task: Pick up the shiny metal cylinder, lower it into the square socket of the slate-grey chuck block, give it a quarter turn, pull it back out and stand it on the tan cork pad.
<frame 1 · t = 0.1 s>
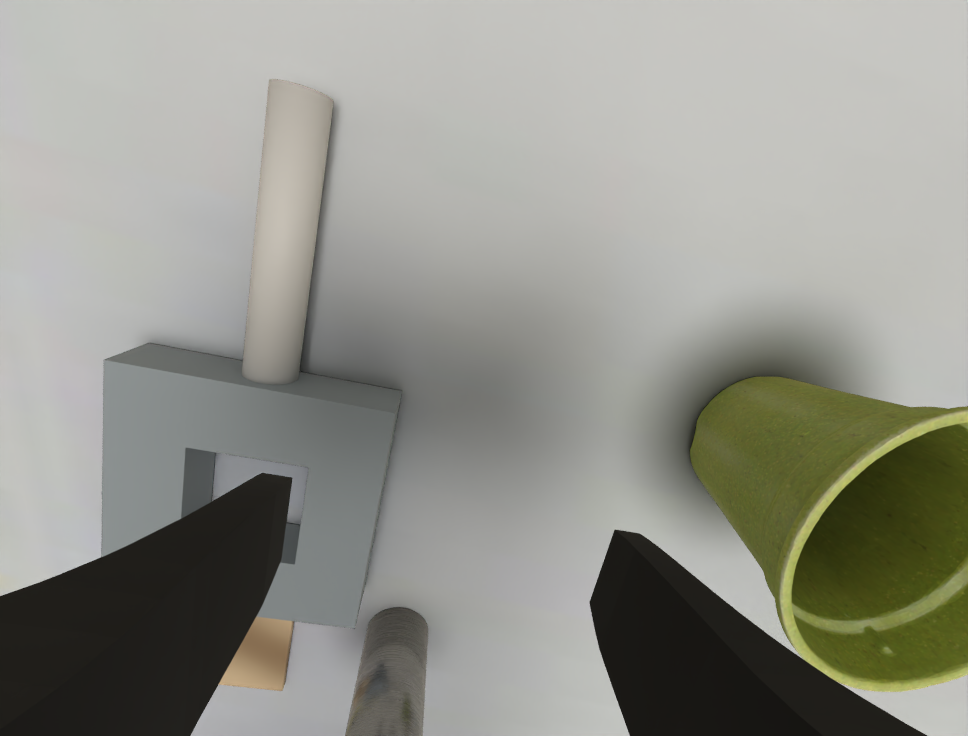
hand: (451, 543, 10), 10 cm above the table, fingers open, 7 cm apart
chuck block: (267, 476, 20), on the table
plant pot: (750, 434, 22), on the table
pad: (227, 628, 22), on the table
shiny metal cylinder: (397, 632, 23), on the table
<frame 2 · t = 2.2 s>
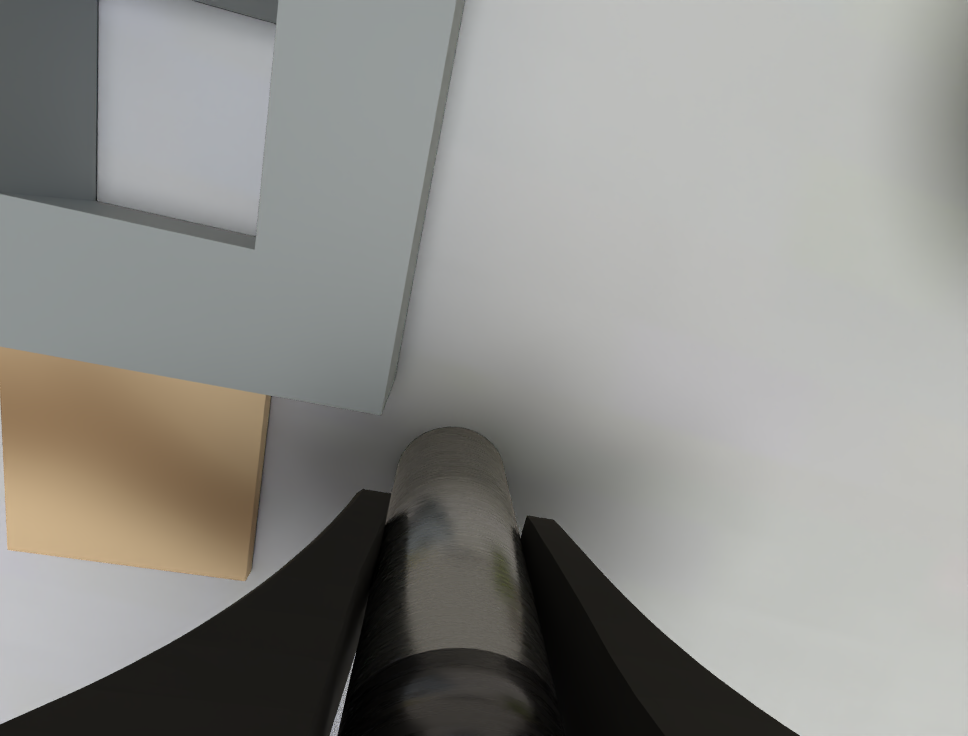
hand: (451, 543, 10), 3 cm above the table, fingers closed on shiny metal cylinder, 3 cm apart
chuck block: (205, 120, 10), on the table
pad: (143, 460, 12), on the table
shiny metal cylinder: (450, 476, 13), on the table, touching gripper
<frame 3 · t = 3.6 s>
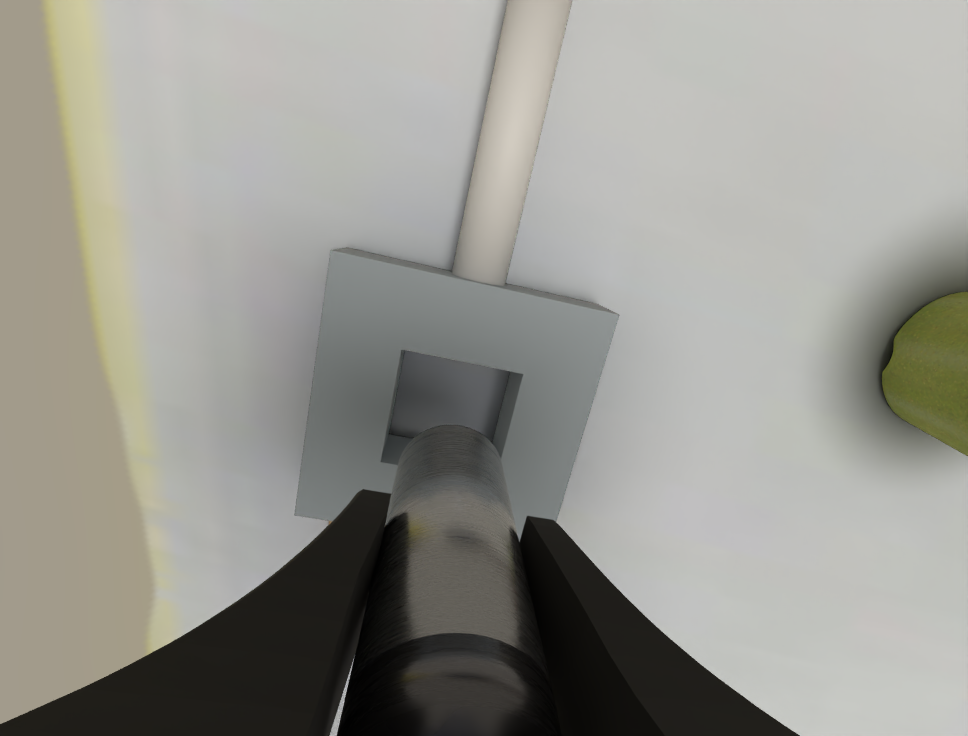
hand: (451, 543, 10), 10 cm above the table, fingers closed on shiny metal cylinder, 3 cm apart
chuck block: (450, 395, 19), on the table
plant pot: (940, 357, 21), on the table
shiny metal cylinder: (450, 473, 13), point 6 cm above the table, touching gripper
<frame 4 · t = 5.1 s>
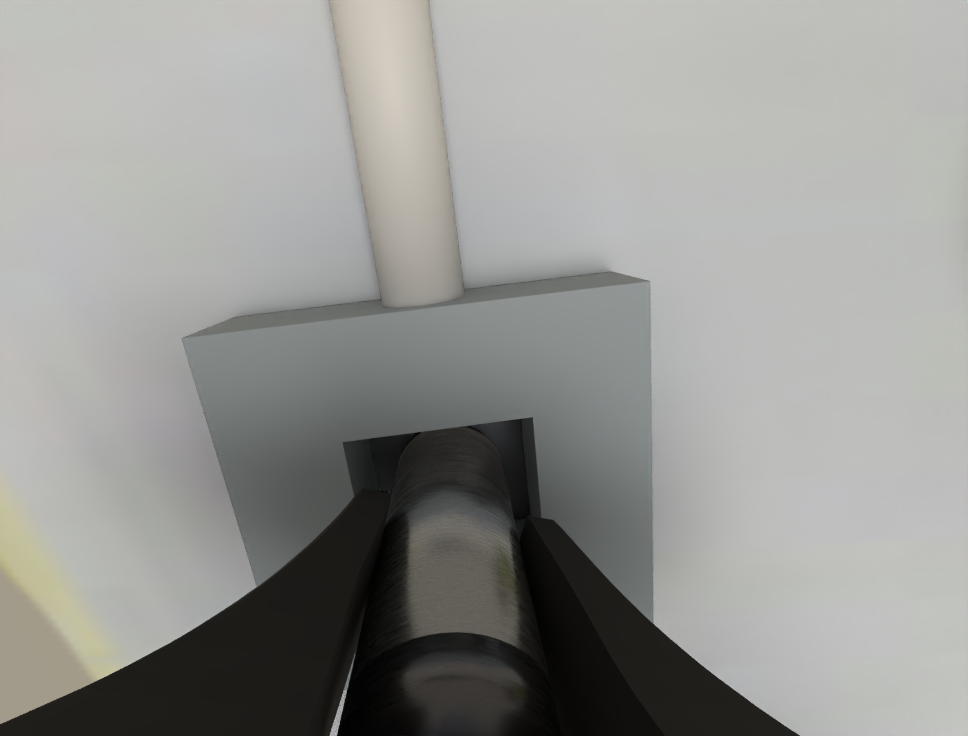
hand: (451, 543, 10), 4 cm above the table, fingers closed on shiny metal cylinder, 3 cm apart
chuck block: (450, 463, 14), on the table
shiny metal cylinder: (450, 473, 13), resting in chuck block, touching gripper
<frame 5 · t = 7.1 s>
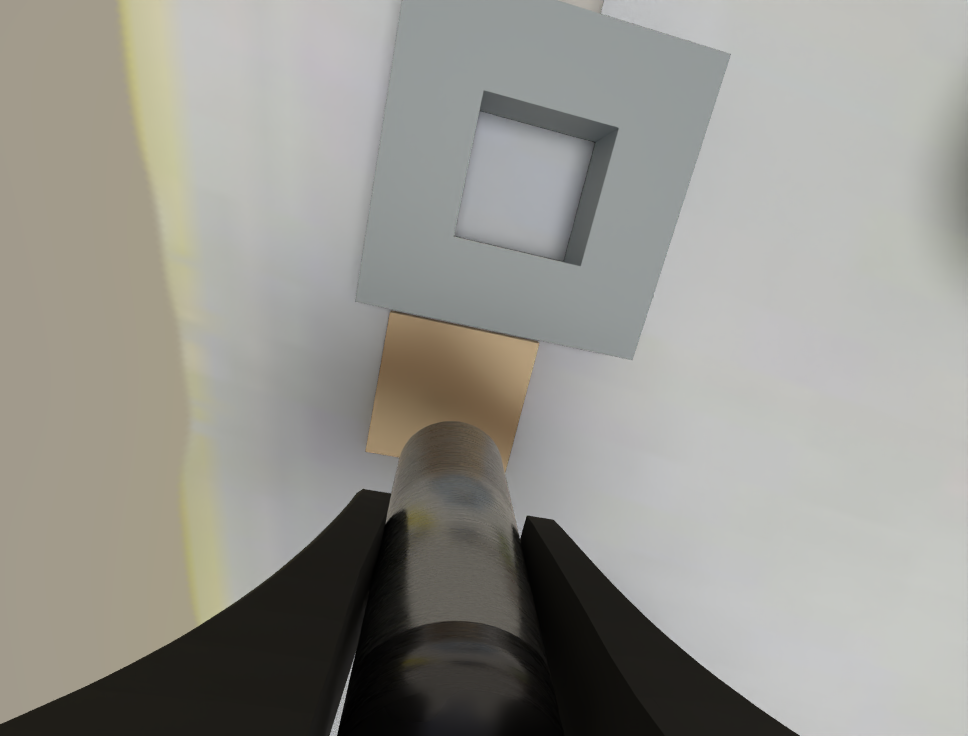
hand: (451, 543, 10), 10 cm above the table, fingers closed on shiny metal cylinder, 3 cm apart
chuck block: (523, 189, 17), on the table
pad: (450, 395, 20), on the table
shiny metal cylinder: (450, 469, 13), point 6 cm above the table, touching gripper
when the fingers open (4 cm above the table, at t = 8.4 s): shiny metal cylinder stays where it is, resting on pad.
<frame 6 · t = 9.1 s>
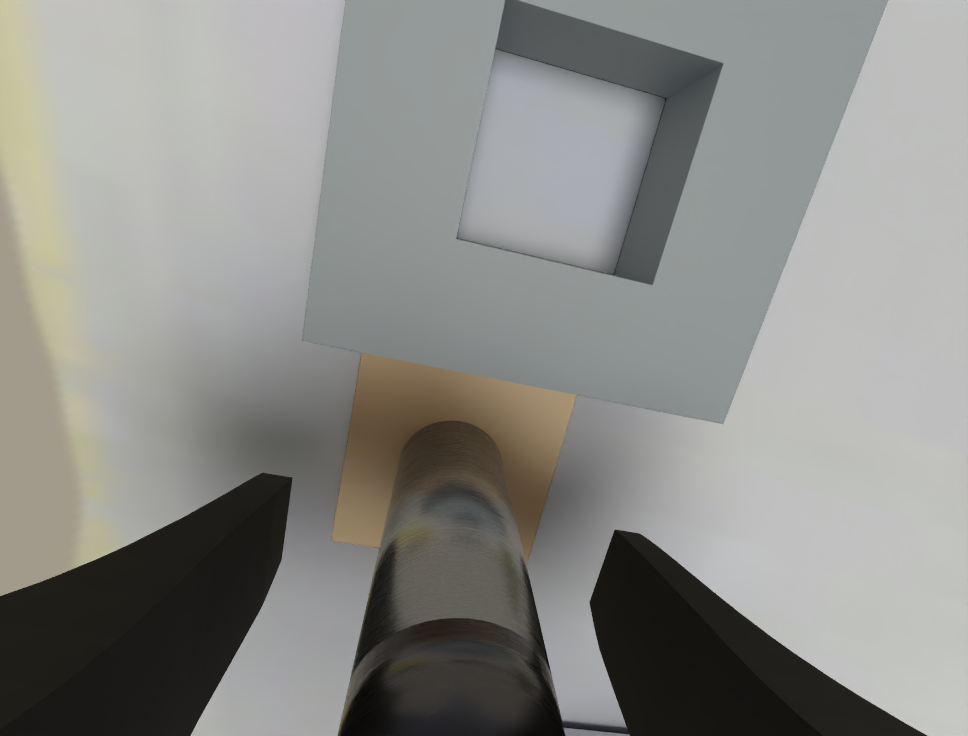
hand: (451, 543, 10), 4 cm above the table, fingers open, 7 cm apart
chuck block: (558, 169, 12), on the table
pad: (450, 461, 14), on the table
shiny metal cylinder: (450, 468, 14), resting on pad
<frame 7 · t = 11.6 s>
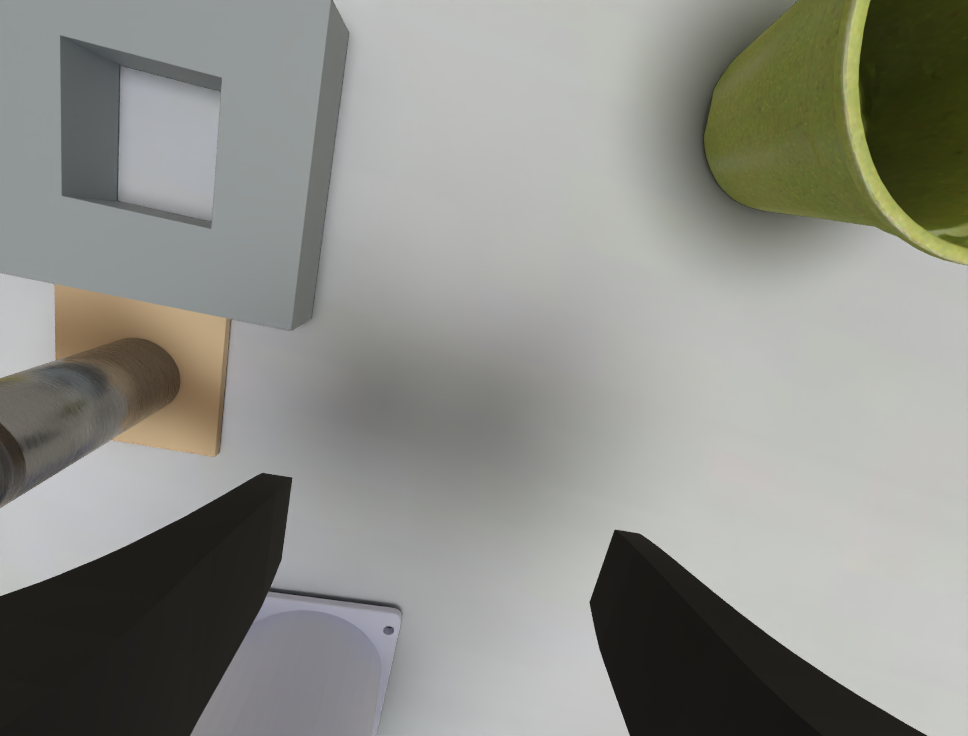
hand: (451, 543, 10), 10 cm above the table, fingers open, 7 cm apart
chuck block: (185, 151, 17), on the table
plant pot: (777, 125, 18), on the table
pad: (146, 372, 19), on the table
shiny metal cylinder: (139, 375, 18), resting on pad
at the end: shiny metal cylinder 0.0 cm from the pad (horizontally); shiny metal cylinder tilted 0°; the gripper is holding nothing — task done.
